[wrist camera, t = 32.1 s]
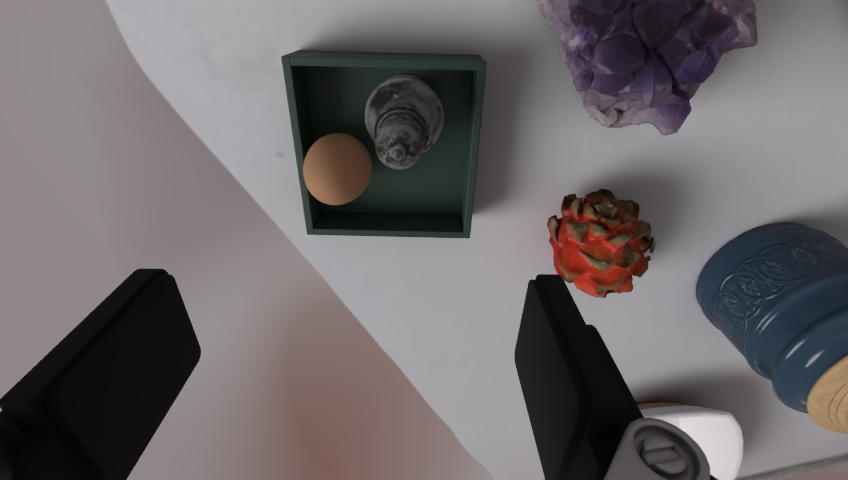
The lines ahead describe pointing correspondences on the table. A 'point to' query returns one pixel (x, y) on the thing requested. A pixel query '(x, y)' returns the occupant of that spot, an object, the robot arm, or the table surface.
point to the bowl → (705, 433)
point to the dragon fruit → (600, 243)
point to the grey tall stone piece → (403, 119)
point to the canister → (786, 314)
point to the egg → (337, 168)
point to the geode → (646, 53)
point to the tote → (345, 113)
